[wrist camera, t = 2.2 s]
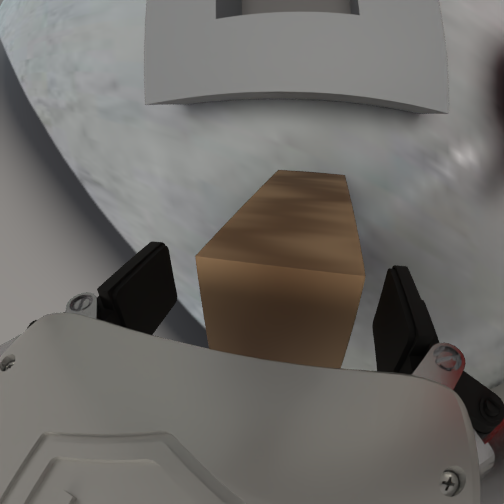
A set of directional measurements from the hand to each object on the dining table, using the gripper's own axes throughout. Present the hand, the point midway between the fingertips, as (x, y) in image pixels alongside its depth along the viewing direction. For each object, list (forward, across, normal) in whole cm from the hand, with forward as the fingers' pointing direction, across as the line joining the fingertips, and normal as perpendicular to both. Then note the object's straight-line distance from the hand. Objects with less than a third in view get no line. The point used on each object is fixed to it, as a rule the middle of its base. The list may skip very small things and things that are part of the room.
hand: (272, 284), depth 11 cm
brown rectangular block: (+11, -1, 0) cm, 11 cm away
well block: (+12, 0, -17) cm, 20 cm away
